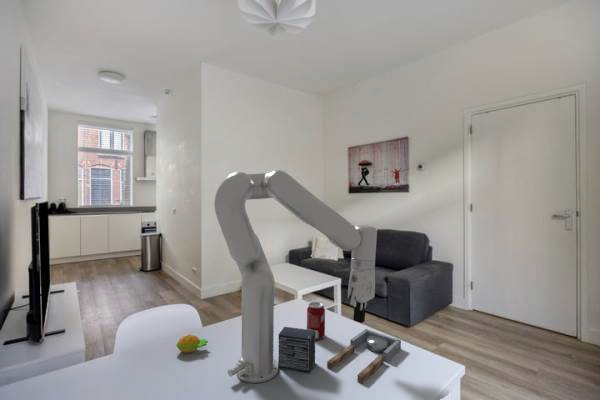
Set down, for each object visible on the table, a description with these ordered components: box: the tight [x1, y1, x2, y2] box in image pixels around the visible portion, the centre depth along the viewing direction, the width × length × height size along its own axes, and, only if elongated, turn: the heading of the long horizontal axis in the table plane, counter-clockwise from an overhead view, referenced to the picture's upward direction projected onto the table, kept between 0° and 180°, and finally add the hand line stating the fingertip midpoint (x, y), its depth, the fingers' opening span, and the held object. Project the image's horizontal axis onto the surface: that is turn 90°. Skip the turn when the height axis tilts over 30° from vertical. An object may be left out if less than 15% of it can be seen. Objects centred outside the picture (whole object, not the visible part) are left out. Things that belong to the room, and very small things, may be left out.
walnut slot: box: [326, 344, 385, 385], centre depth 93 cm, size 14×12×2 cm
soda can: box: [306, 301, 326, 341], centre depth 112 cm, size 7×7×12 cm
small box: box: [278, 326, 316, 374], centre depth 93 cm, size 11×6×10 cm, turn 74°
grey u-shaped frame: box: [349, 328, 402, 363], centre depth 104 cm, size 11×13×3 cm
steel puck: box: [366, 336, 388, 355], centre depth 104 cm, size 7×7×3 cm
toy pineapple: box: [175, 334, 209, 354], centre depth 101 cm, size 7×10×5 cm
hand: (358, 321), depth 96 cm, fingers closed
